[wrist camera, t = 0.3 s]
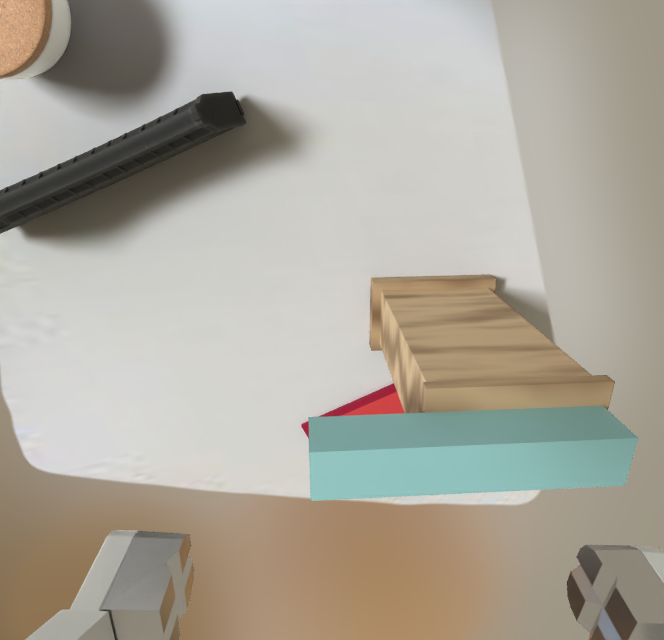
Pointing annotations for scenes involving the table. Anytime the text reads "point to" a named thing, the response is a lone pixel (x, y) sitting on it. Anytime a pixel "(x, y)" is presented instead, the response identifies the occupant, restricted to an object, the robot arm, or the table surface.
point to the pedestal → (471, 349)
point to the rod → (467, 452)
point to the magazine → (120, 158)
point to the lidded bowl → (32, 36)
